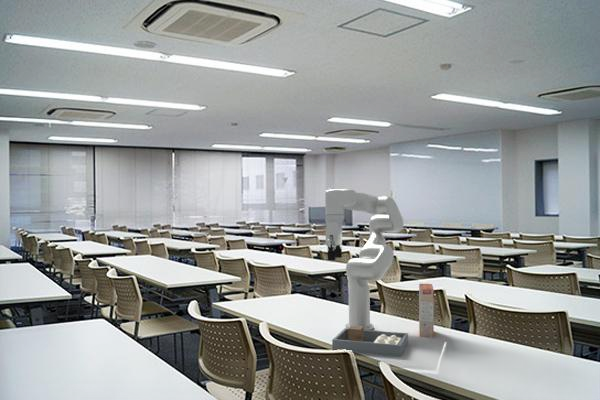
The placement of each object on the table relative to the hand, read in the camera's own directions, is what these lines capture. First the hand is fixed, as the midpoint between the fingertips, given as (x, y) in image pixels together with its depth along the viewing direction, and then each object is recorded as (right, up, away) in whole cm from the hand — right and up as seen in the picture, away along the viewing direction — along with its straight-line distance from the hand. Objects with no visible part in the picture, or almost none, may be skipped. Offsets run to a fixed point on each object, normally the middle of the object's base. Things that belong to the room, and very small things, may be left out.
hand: (334, 258), depth 222 cm
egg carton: (+19, -32, -20) cm, 43 cm away
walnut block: (+7, -32, -16) cm, 37 cm away
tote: (+13, -33, -18) cm, 40 cm away
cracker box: (+40, -33, +3) cm, 52 cm away
